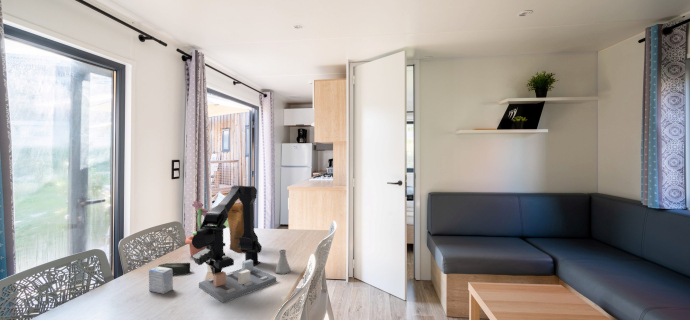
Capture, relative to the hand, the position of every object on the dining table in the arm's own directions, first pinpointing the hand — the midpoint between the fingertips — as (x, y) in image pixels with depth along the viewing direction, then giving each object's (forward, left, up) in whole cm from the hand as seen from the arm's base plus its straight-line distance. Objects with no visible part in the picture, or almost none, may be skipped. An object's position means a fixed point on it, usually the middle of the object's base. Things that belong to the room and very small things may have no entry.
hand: (215, 279), depth 120 cm
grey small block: (-1, +15, -1) cm, 15 cm away
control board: (+5, +8, -4) cm, 9 cm away
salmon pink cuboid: (+3, 0, -1) cm, 3 cm away
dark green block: (-29, -6, -4) cm, 30 cm away
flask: (+8, +29, -4) cm, 30 cm away
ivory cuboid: (+9, +7, -1) cm, 12 cm away
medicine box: (-14, -15, -4) cm, 21 cm away
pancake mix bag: (-37, +31, -4) cm, 49 cm away
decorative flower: (-45, +14, -4) cm, 48 cm away
